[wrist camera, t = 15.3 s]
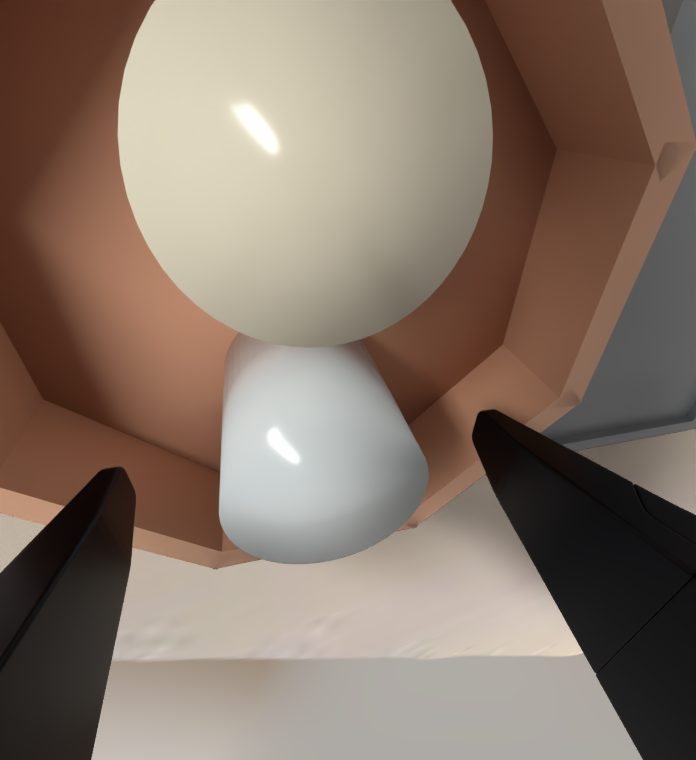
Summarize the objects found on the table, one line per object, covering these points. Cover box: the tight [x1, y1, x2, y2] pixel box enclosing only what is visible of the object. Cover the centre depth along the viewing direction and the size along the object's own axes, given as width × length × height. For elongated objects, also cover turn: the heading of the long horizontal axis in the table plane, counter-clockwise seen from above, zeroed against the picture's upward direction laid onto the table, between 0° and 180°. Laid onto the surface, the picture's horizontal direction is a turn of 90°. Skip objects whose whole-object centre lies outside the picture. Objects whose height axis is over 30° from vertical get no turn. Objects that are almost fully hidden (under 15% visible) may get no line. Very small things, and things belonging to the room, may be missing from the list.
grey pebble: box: [219, 332, 429, 564], centre depth 10 cm, size 4×4×5 cm
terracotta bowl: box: [0, 0, 696, 569], centre depth 10 cm, size 16×16×4 cm
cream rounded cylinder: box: [118, 0, 493, 348], centre depth 7 cm, size 4×4×5 cm
